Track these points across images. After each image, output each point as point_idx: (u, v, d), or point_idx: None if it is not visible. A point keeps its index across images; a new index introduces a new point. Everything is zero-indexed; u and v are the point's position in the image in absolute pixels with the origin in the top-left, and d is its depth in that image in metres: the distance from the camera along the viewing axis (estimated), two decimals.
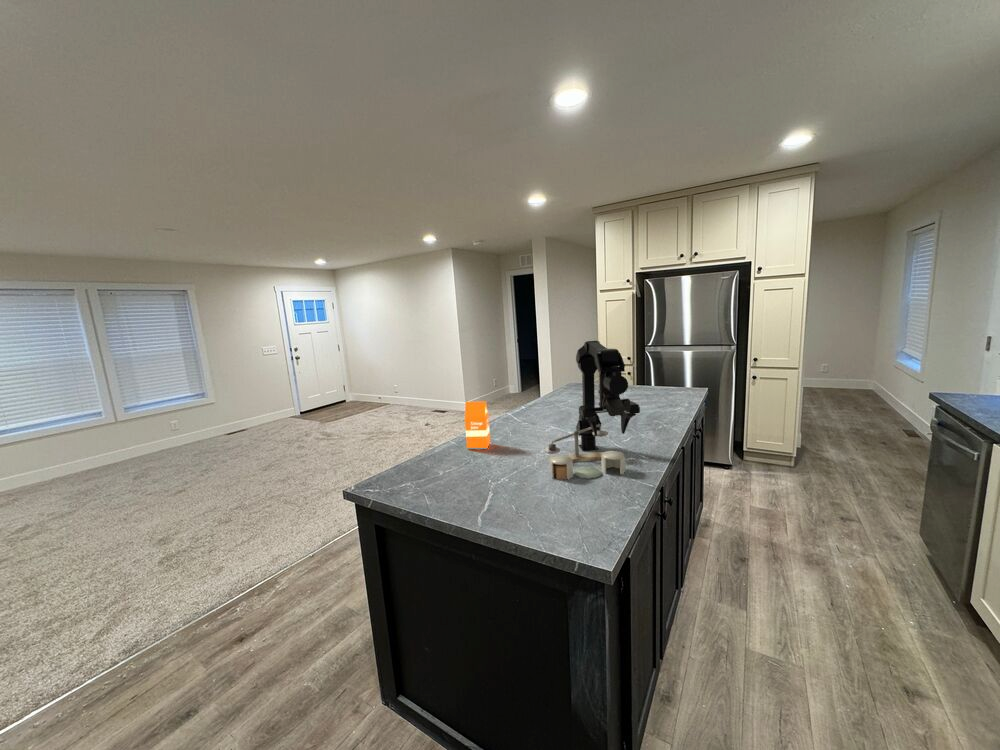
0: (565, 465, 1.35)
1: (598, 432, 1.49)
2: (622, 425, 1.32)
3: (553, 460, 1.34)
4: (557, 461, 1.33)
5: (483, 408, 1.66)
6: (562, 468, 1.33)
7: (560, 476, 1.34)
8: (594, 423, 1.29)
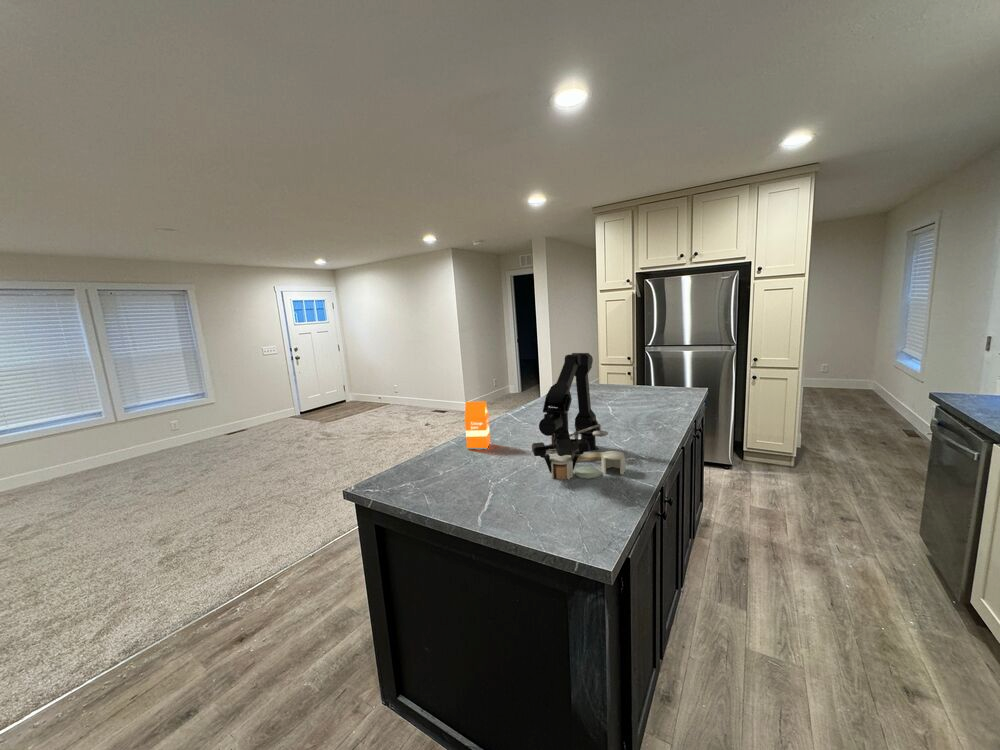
0: (565, 465, 1.35)
1: (598, 432, 1.49)
2: None
3: (553, 460, 1.34)
4: (557, 461, 1.33)
5: (483, 408, 1.66)
6: (562, 468, 1.33)
7: (560, 476, 1.34)
8: (548, 460, 1.33)
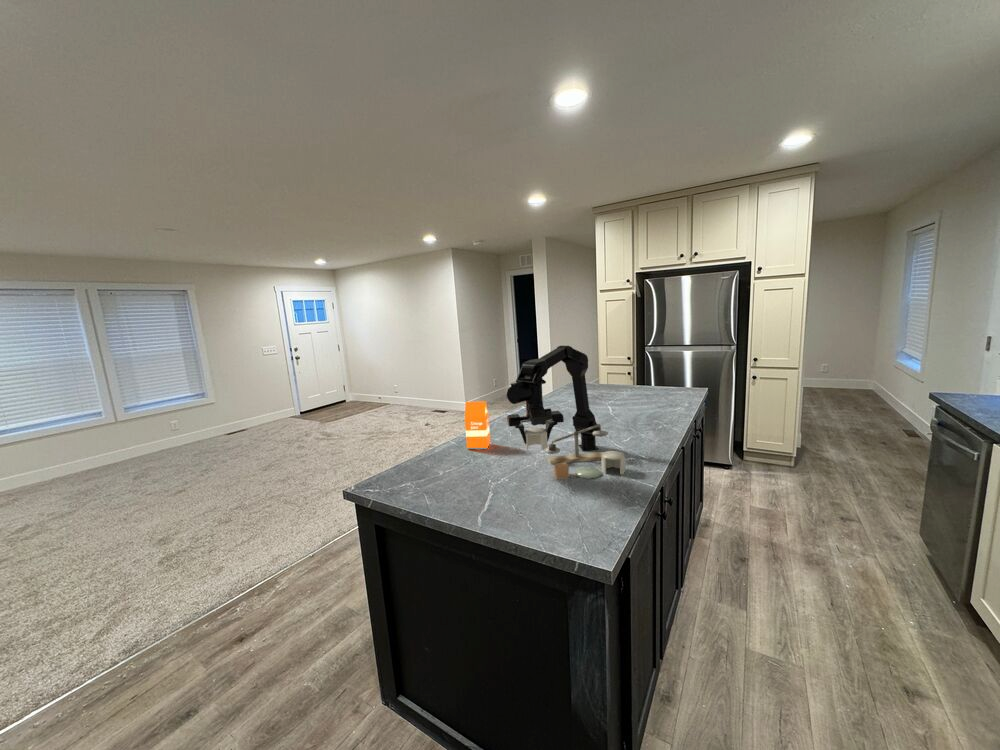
0: (565, 465, 1.35)
1: (598, 432, 1.49)
2: None
3: (528, 431, 1.36)
4: (532, 432, 1.35)
5: (483, 408, 1.66)
6: (562, 468, 1.33)
7: (560, 476, 1.34)
8: (523, 431, 1.35)
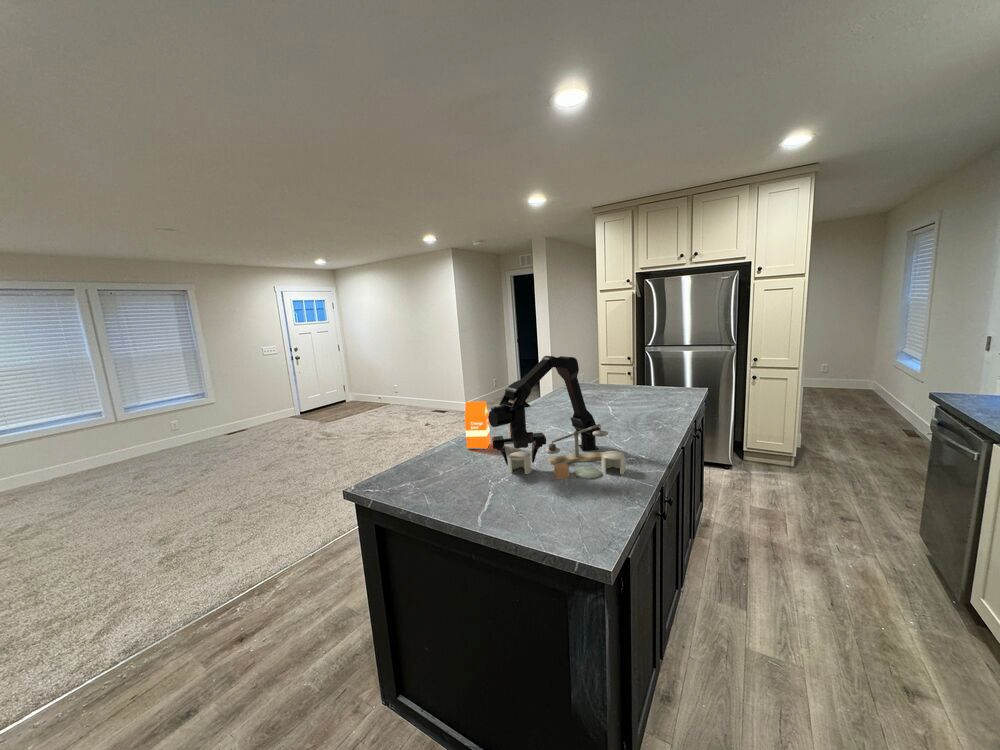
0: (565, 465, 1.35)
1: (598, 432, 1.49)
2: (532, 454, 1.42)
3: (512, 456, 1.41)
4: (515, 457, 1.40)
5: (483, 408, 1.66)
6: (562, 468, 1.33)
7: (560, 476, 1.34)
8: (504, 453, 1.40)
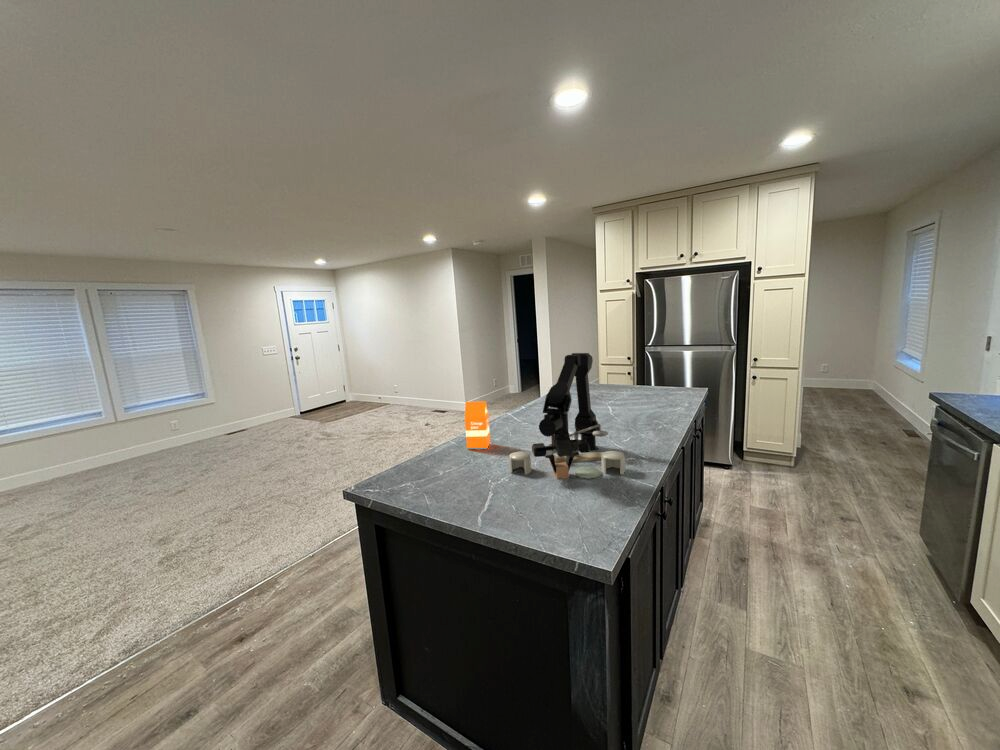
0: (565, 465, 1.35)
1: (598, 432, 1.49)
2: (567, 463, 1.36)
3: (512, 456, 1.41)
4: (515, 457, 1.40)
5: (483, 408, 1.66)
6: (562, 468, 1.33)
7: (560, 476, 1.34)
8: (553, 461, 1.33)
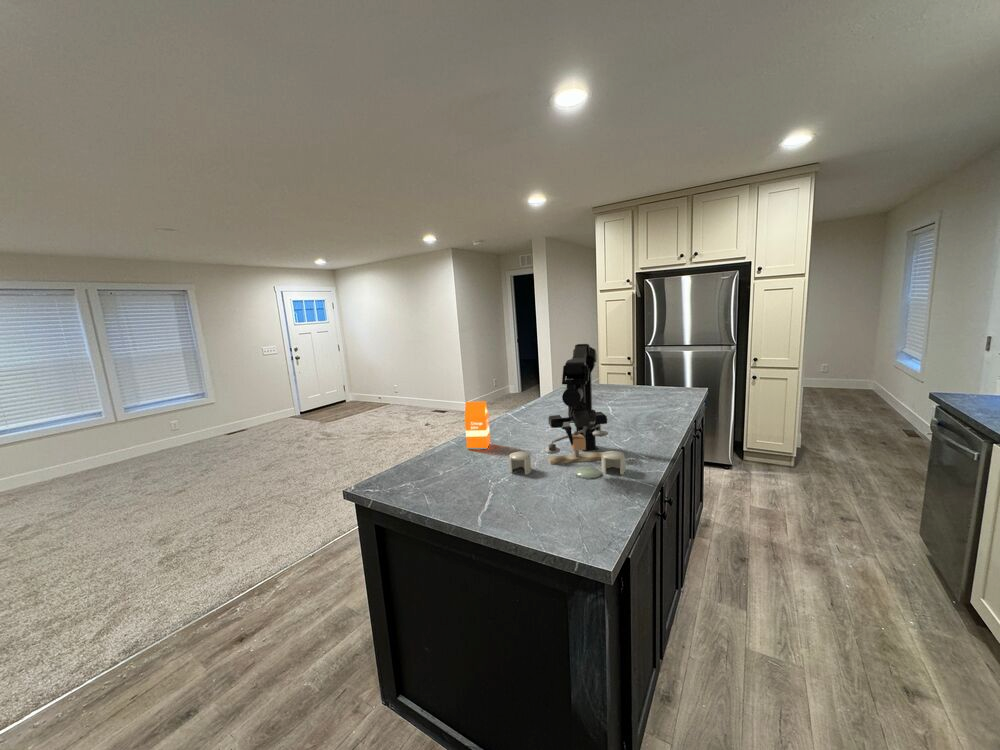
0: (582, 437, 1.34)
1: (598, 432, 1.49)
2: (584, 435, 1.35)
3: (512, 456, 1.41)
4: (515, 457, 1.40)
5: (483, 408, 1.66)
6: (579, 440, 1.33)
7: (577, 448, 1.33)
8: (570, 432, 1.33)
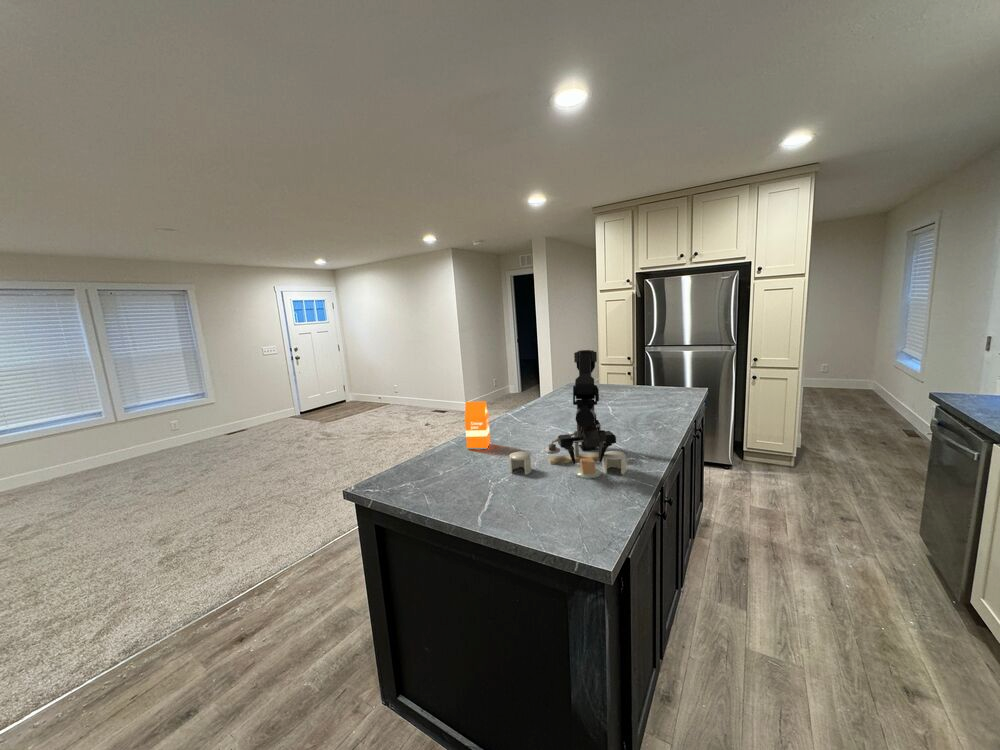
0: (591, 460, 1.35)
1: None
2: (599, 453, 1.36)
3: (512, 456, 1.41)
4: (515, 457, 1.40)
5: (483, 408, 1.66)
6: (588, 463, 1.34)
7: (586, 471, 1.34)
8: (572, 452, 1.34)
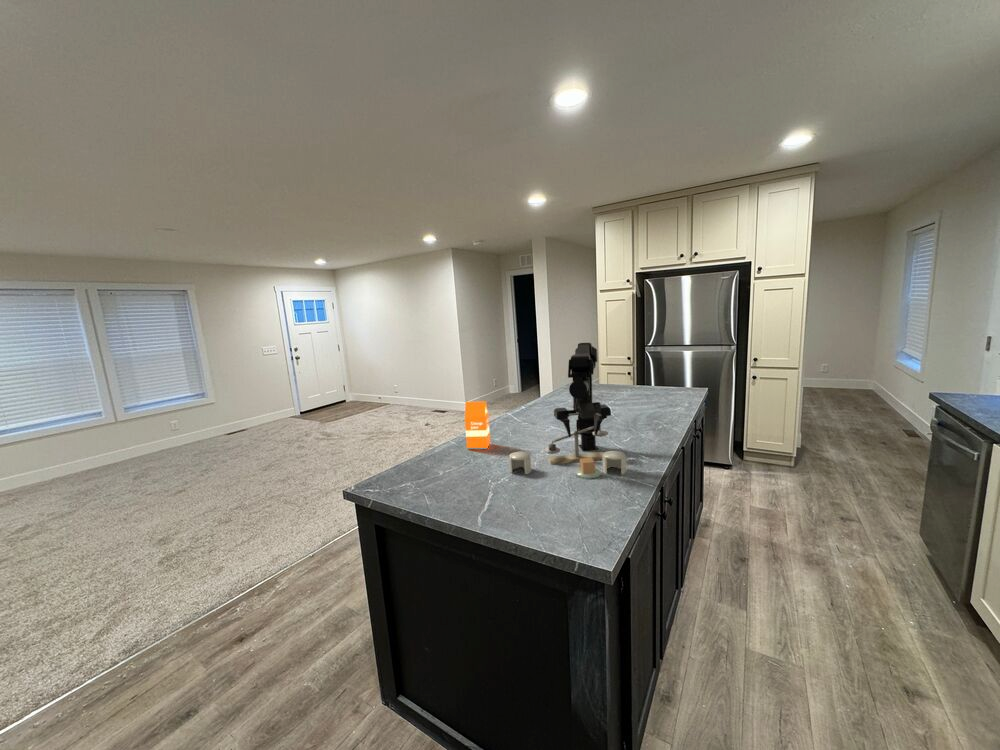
0: (591, 460, 1.35)
1: (598, 432, 1.49)
2: (595, 426, 1.39)
3: (512, 456, 1.41)
4: (515, 457, 1.40)
5: (483, 408, 1.66)
6: (588, 463, 1.34)
7: (586, 471, 1.34)
8: (568, 425, 1.37)
